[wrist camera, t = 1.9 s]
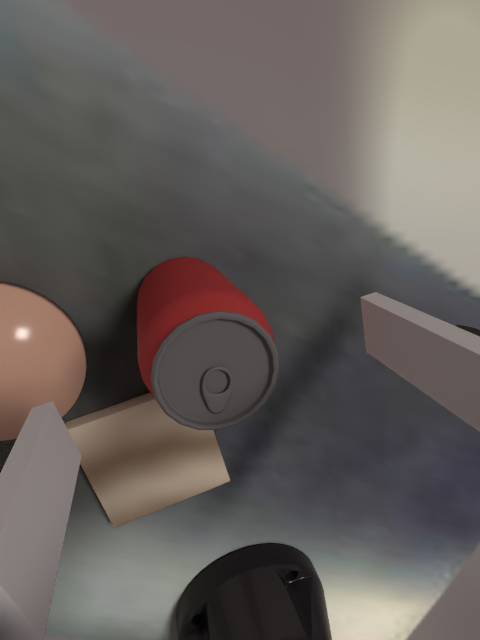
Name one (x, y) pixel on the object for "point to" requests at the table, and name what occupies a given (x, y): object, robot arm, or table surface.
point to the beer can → (203, 346)
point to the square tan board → (144, 458)
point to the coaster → (36, 357)
